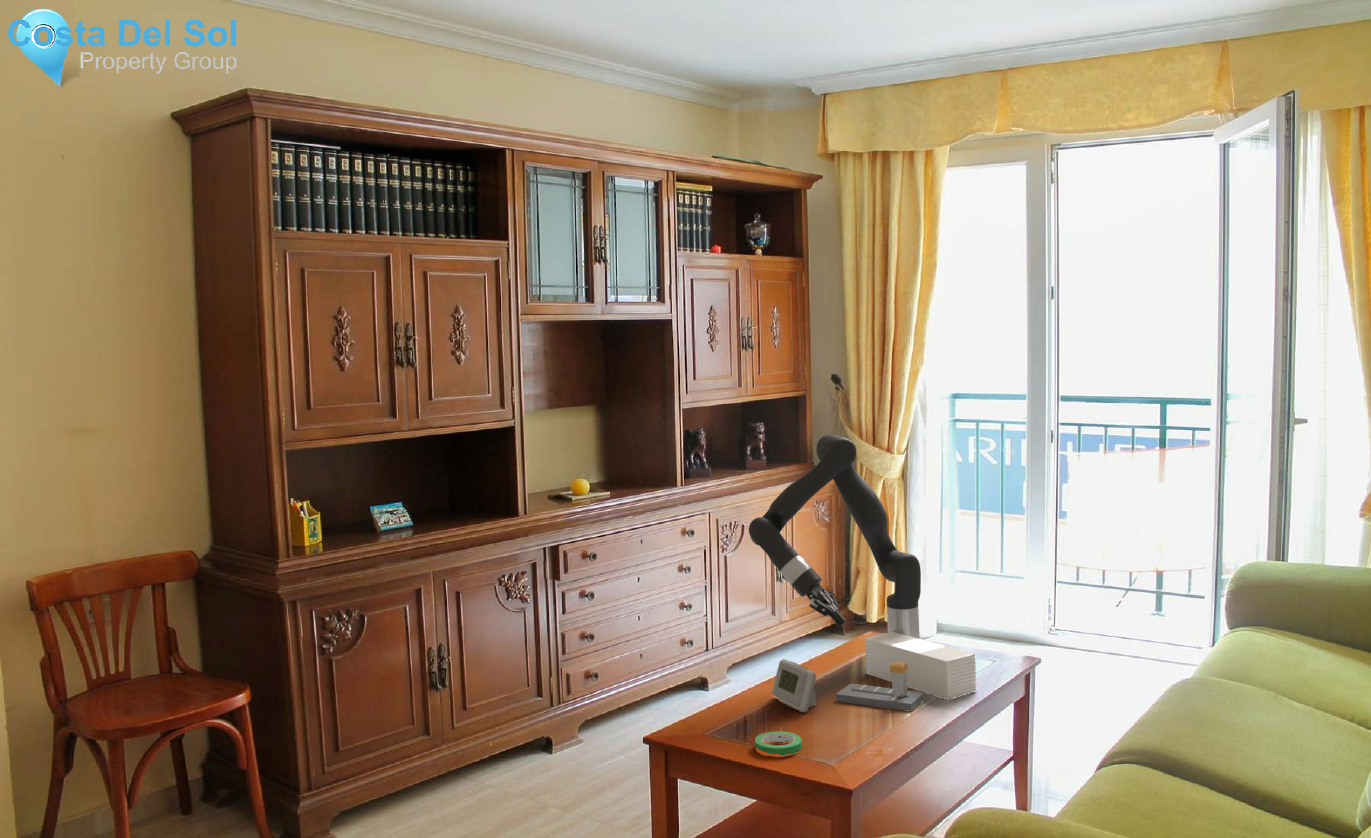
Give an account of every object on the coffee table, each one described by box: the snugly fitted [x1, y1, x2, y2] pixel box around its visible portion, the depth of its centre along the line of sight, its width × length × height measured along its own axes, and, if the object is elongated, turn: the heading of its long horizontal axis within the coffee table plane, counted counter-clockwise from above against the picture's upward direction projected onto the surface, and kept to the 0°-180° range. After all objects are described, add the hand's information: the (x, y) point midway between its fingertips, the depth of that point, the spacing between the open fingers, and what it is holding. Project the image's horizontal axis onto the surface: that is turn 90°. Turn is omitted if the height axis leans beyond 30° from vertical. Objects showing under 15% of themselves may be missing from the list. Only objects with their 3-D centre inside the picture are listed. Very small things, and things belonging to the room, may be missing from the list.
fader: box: [890, 662, 908, 697], centre depth 278 cm, size 4×4×8 cm
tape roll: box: [754, 730, 803, 755], centre depth 251 cm, size 11×11×3 cm
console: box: [835, 683, 926, 712], centre depth 281 cm, size 10×21×2 cm, turn 58°
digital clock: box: [771, 658, 817, 713], centre depth 282 cm, size 16×9×11 cm, turn 15°
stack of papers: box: [864, 631, 977, 701], centre depth 295 cm, size 32×11×11 cm, turn 32°
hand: (843, 623), depth 286 cm, fingers closed
